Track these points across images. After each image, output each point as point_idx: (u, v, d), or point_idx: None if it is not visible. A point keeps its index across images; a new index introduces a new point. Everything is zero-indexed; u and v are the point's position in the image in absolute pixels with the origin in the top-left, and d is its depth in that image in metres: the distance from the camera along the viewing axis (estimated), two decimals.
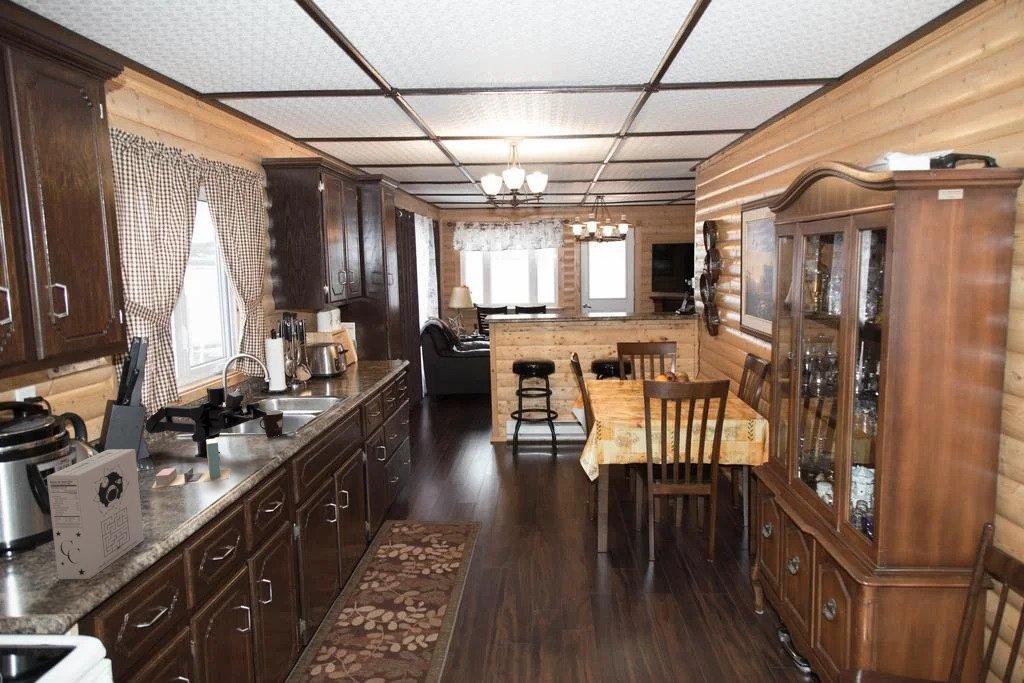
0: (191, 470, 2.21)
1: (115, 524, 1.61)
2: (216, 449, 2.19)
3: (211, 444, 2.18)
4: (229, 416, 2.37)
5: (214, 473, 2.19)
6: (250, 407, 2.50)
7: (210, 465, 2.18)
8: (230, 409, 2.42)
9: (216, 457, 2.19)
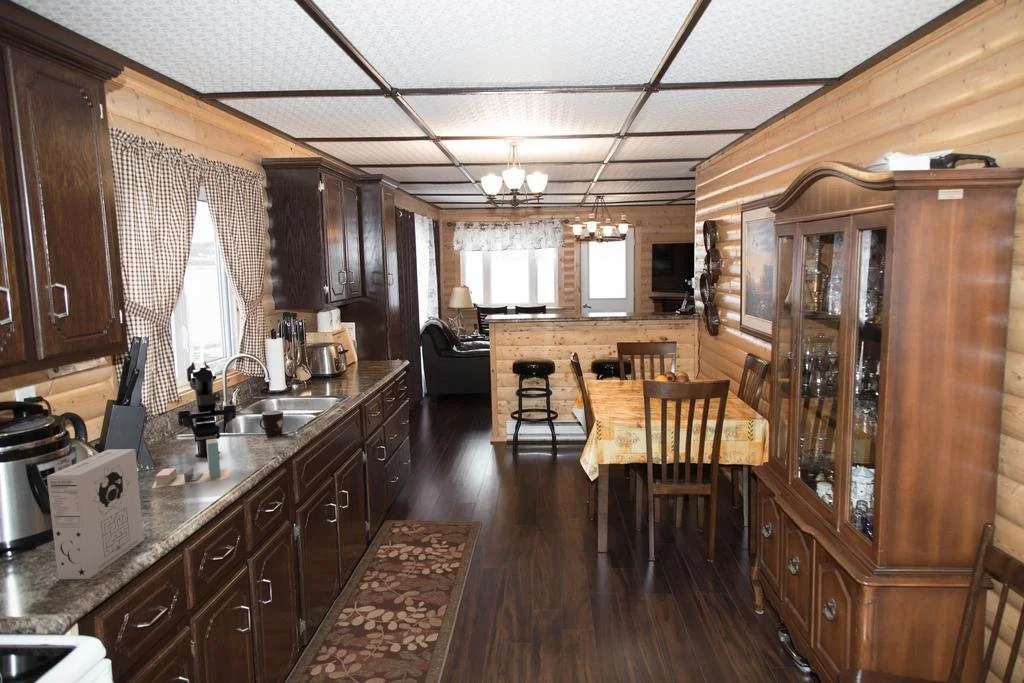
0: (191, 470, 2.21)
1: (115, 524, 1.61)
2: (216, 449, 2.19)
3: (211, 444, 2.18)
4: (185, 420, 2.27)
5: (214, 473, 2.19)
6: None
7: (210, 465, 2.18)
8: (198, 408, 2.30)
9: (216, 457, 2.19)
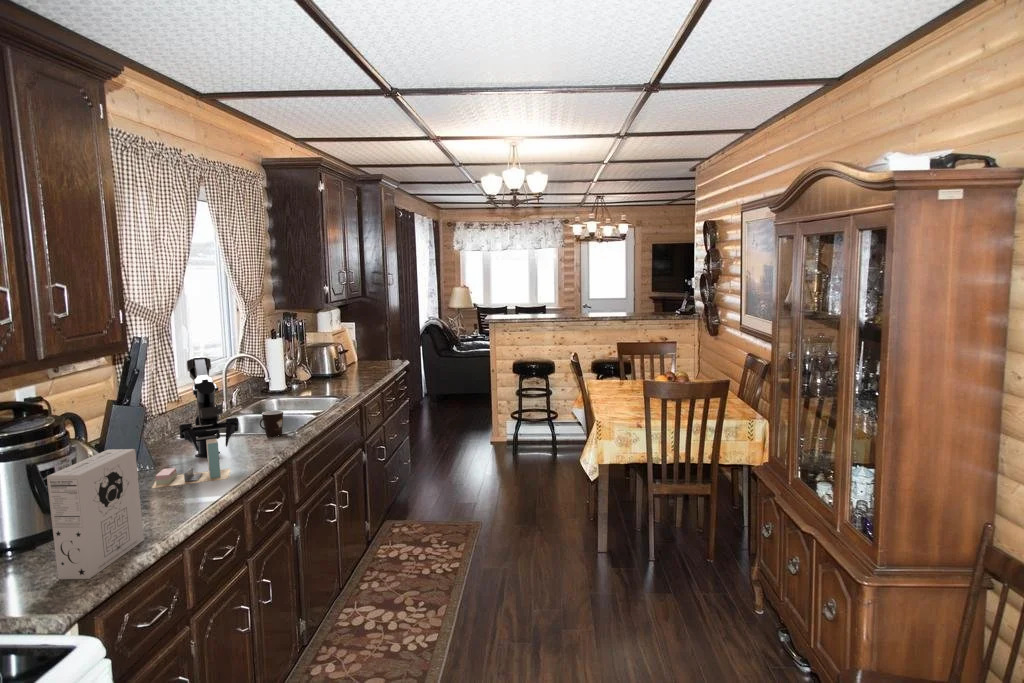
0: (191, 470, 2.21)
1: (115, 524, 1.61)
2: (216, 449, 2.19)
3: (211, 444, 2.18)
4: (186, 433, 2.22)
5: (214, 473, 2.19)
6: None
7: (210, 465, 2.18)
8: (199, 420, 2.25)
9: (216, 457, 2.19)
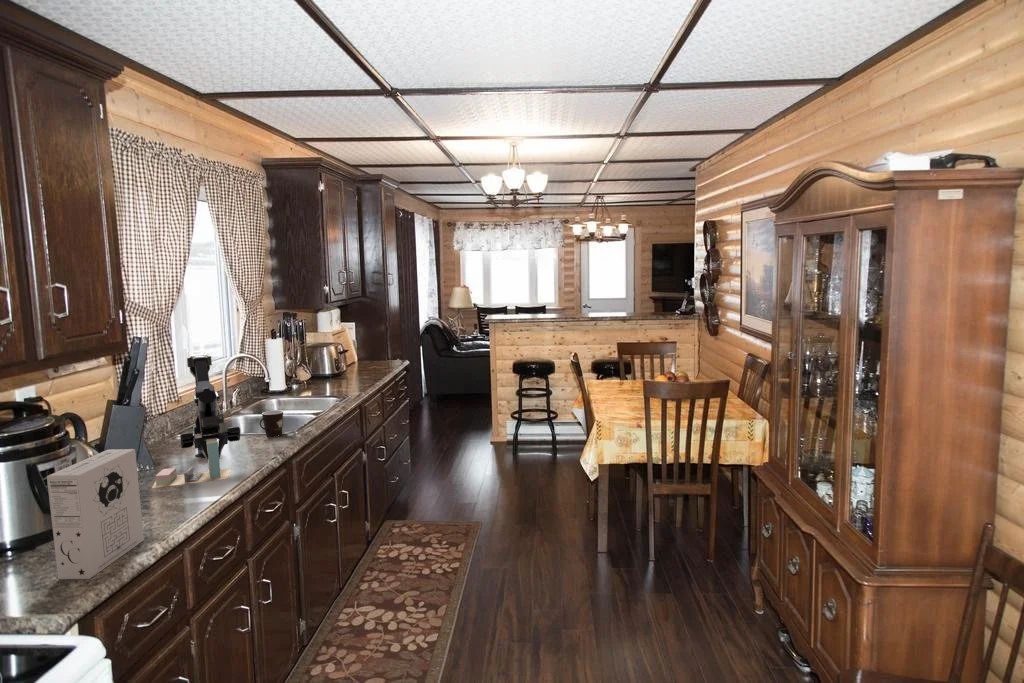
0: (191, 470, 2.21)
1: (115, 524, 1.61)
2: (216, 449, 2.19)
3: (211, 444, 2.18)
4: (197, 441, 2.21)
5: (214, 473, 2.19)
6: None
7: (210, 465, 2.18)
8: (201, 430, 2.22)
9: (216, 457, 2.19)
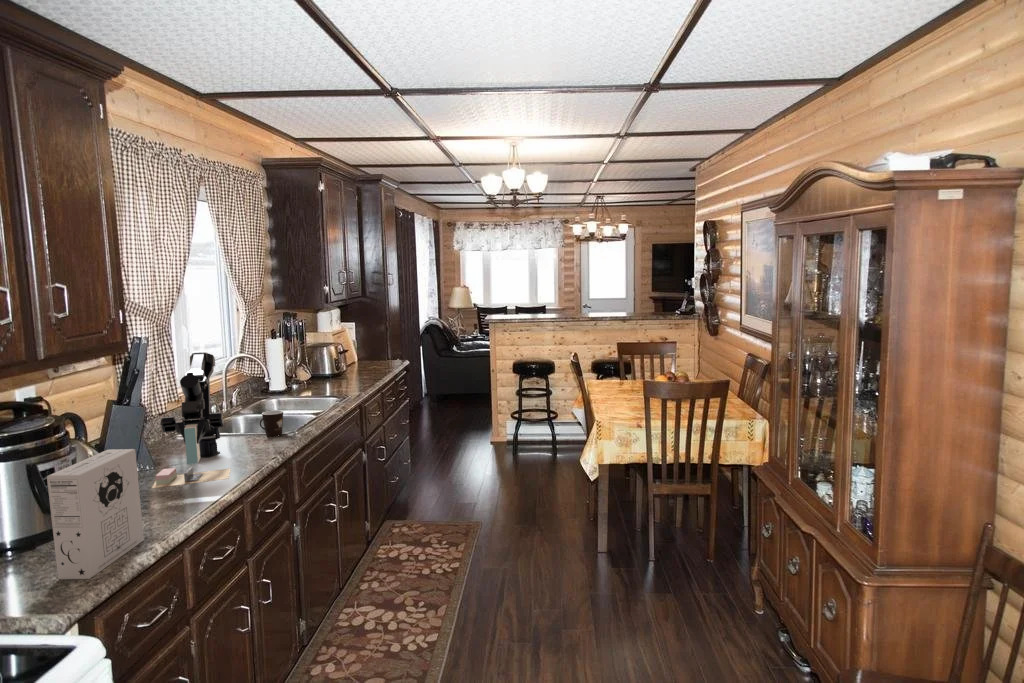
0: (191, 470, 2.21)
1: (115, 524, 1.61)
2: (193, 435, 2.15)
3: (188, 429, 2.15)
4: (177, 426, 2.19)
5: (191, 459, 2.16)
6: None
7: (187, 451, 2.15)
8: (182, 414, 2.20)
9: (193, 443, 2.16)
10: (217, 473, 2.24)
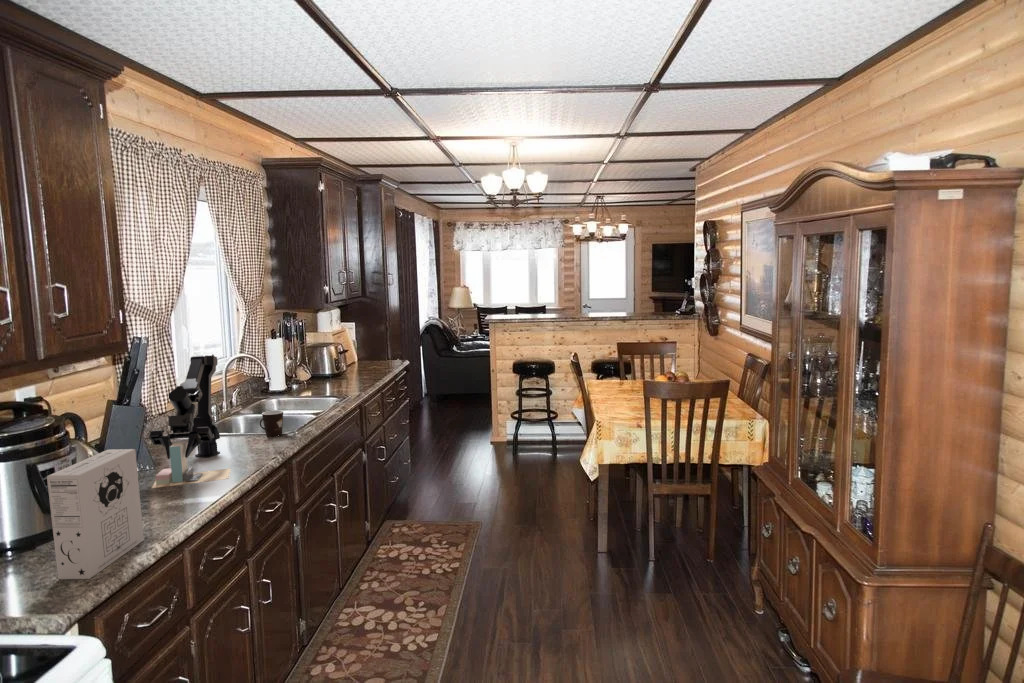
0: (191, 470, 2.21)
1: (115, 524, 1.61)
2: (178, 453, 2.15)
3: (173, 447, 2.14)
4: (162, 440, 2.18)
5: (176, 477, 2.15)
6: None
7: (172, 469, 2.15)
8: None
9: (178, 461, 2.15)
10: (217, 473, 2.24)
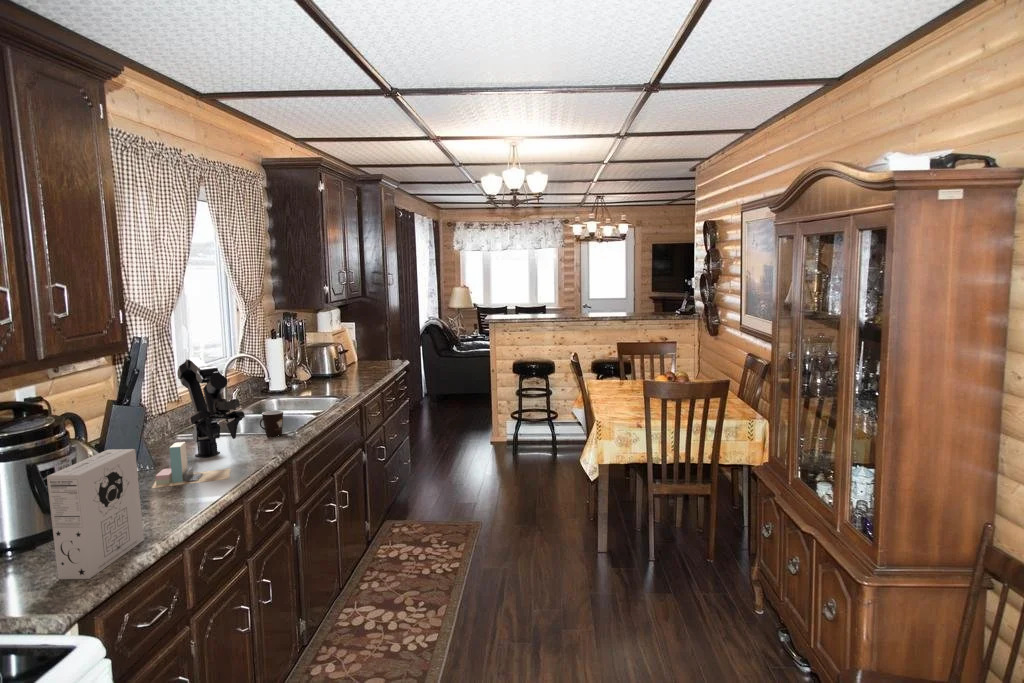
0: (191, 470, 2.21)
1: (115, 524, 1.61)
2: (178, 453, 2.15)
3: (173, 448, 2.14)
4: (204, 421, 2.29)
5: (176, 477, 2.15)
6: None
7: (172, 469, 2.15)
8: (215, 410, 2.33)
9: (178, 461, 2.15)
10: (217, 473, 2.24)
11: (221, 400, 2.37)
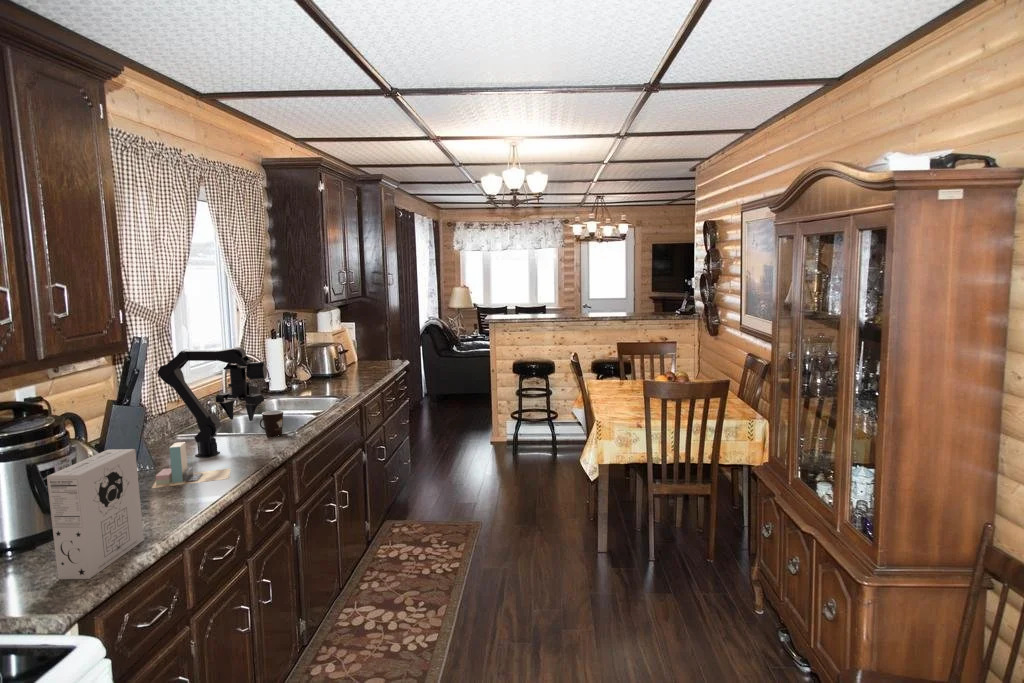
0: (191, 470, 2.21)
1: (115, 524, 1.61)
2: (178, 453, 2.15)
3: (173, 448, 2.14)
4: (258, 403, 2.50)
5: (176, 477, 2.15)
6: None
7: (172, 469, 2.15)
8: (250, 393, 2.52)
9: (178, 461, 2.15)
10: (217, 473, 2.24)
11: None
